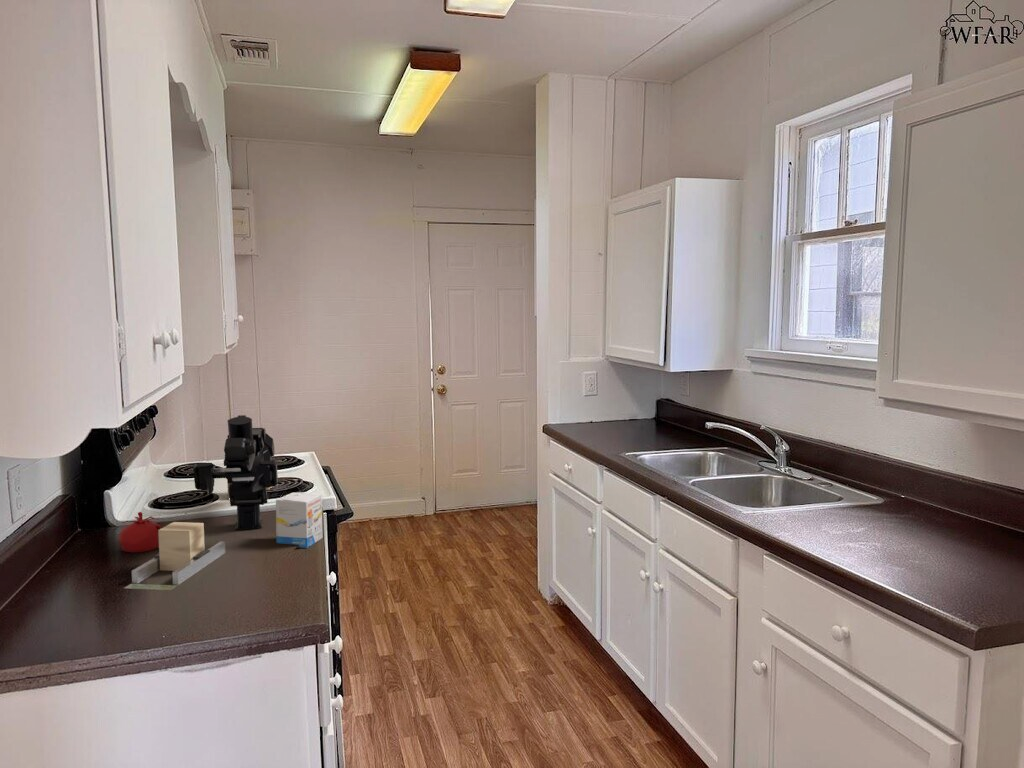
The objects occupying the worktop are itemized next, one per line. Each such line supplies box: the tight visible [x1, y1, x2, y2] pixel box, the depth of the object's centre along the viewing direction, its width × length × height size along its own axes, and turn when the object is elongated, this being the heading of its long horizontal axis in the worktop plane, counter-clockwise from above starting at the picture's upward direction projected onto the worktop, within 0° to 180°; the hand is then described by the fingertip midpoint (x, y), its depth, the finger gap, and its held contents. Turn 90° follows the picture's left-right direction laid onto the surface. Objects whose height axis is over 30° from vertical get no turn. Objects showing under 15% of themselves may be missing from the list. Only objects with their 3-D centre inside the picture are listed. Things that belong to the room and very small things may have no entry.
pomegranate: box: [118, 511, 163, 554], centre depth 167 cm, size 10×10×9 cm
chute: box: [124, 541, 226, 591], centre depth 154 cm, size 26×14×4 cm, turn 176°
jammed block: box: [158, 521, 206, 572], centre depth 155 cm, size 6×7×9 cm
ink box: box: [275, 491, 323, 549], centre depth 174 cm, size 9×8×12 cm
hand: (230, 491), depth 162 cm, fingers open, 9 cm apart
